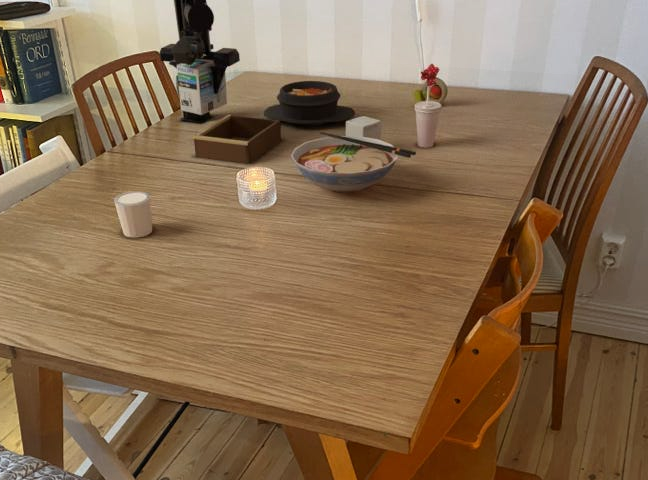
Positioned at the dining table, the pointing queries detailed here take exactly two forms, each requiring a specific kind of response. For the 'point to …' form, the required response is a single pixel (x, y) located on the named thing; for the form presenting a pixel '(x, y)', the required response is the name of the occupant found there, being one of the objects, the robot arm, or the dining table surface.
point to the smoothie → (427, 121)
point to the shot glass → (134, 213)
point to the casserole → (309, 104)
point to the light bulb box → (199, 87)
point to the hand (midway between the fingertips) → (203, 92)
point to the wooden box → (221, 148)
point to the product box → (364, 127)
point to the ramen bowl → (346, 161)
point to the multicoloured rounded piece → (436, 91)
